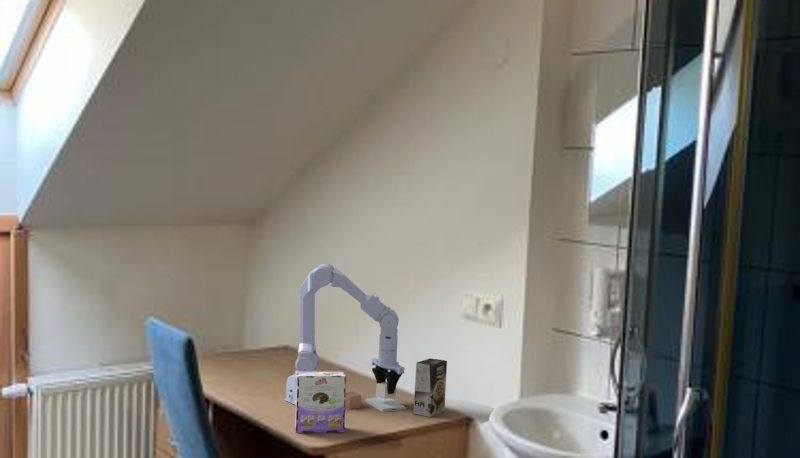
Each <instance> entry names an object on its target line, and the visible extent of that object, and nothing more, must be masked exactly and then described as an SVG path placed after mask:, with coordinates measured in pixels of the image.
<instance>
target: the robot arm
mask: <svg viewBox="0 0 800 458" xmlns="http://www.w3.org/2000/svg"><path fill="white" fill-rule="evenodd" d="M330 283H331V284H330ZM329 284H330V287H331V288H340V289H342V290H343V291H345V293H347V294H348V295H350V297H352V298H353V299H355V300H356V301H357V302H358V303H360V310H361V311H363V312H364V313H365V314H366V315H368V316H369V317H370V318H371V319H373V321H375V322H377V323H379V327H380V334H379V343H378V358H376V357H375V358H371V359H370V365H371V366H374V367H372V368H371V371H372V373H373V376H374V378H375V382H376V384H377V383H383V382H387V391H388V394H394V392H395V388H396V389H397V384H398V383H399V380H400V379H401V377H402V375H404V374H405V367H404V366H402V365H400V364H399V361H398V340H399V338H398V330H399V329H398V326H399V320H400V319H399V316H398V314H397V312H396V311H395V310H393V309H391V307H390V306H386V305H385V304H384V303H383V302H381V300H380V297H379V296H378V295H376V296H374V294H366V293H365V292H364V290H362V289H361V288H360V287H359V286H357V285H356V284H355V283H354V282H353V280H351V279H350V278H348V276H346V275H345V274H344V273H343V272H341V270H339V269H338V268H334V266H333V265H332V264H330V263H327V262H325V263H321V264H319V265H318V266H317V267H316V268H314V269H313V270H311V271H309V273H308V275H307V277H306V278H305V279H304V281H303V282H302V284H301V285H300V287H299V298H298V301H299V307H298V308H299V325H298V326H299V334H298V335H299V344H298V351H297V358H296V360H295V361H294V369H295V371H294V374H293V375H290V376H288V377H287V379H286V388H285V392H286V393H285V398H284V401H286V402H288V403H290V404H292V405H294V406H296V382H297V371H298V372H301V371H304V372H319V370H317V368H316V367H317V366H318V364H319V359H320V358H319V355H318V353H317V351H316V349H317V347H316V341H315V340H316V339H315V337H316V336H315V335H316V331H315V327H316V324H315V322H316V321H315V320H316V319H315V318H316V306H315V305H316V302H315V301H316V298H315V297H316V296H315V295H316V293H317V292H318V291H319V290H321V289H322V288H325V287H326V286H329Z"/></svg>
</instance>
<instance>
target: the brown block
mask: <svg viewBox="0 0 800 458" xmlns="http://www.w3.org/2000/svg"><path fill="white" fill-rule="evenodd" d="M361 407H362V394H360V393H357V392H355V391H349V392H345V409H347V410H353V409H357V408H361ZM352 408H353V409H352Z"/></svg>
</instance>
